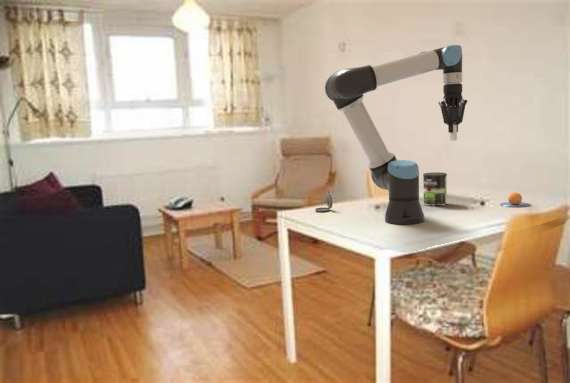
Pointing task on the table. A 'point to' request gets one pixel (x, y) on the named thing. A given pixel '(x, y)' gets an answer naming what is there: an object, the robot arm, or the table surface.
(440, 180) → the coffee can
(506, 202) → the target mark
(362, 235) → the table surface
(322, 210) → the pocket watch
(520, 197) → the ball
